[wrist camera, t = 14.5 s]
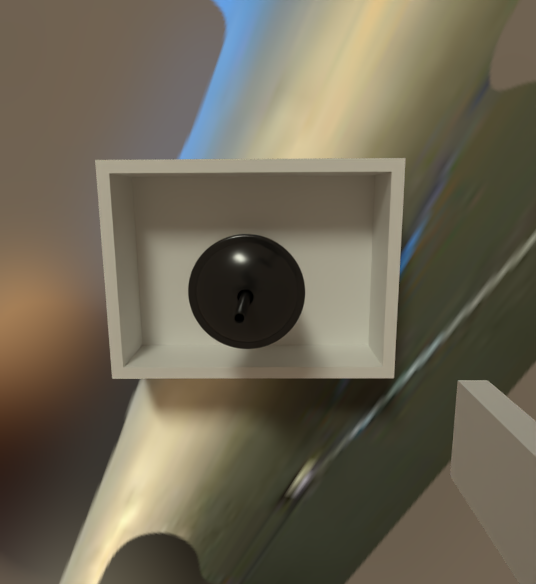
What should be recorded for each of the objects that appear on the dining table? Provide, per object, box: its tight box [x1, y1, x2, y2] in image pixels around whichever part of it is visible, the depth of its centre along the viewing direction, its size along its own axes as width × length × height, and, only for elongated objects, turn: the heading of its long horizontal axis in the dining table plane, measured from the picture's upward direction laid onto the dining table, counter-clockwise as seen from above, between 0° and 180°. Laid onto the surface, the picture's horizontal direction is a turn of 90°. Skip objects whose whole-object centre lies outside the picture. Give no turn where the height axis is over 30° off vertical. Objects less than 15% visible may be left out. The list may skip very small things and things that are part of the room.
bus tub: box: [95, 158, 405, 379], centre depth 41 cm, size 24×18×7 cm
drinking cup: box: [188, 234, 305, 349], centre depth 33 cm, size 8×8×20 cm
